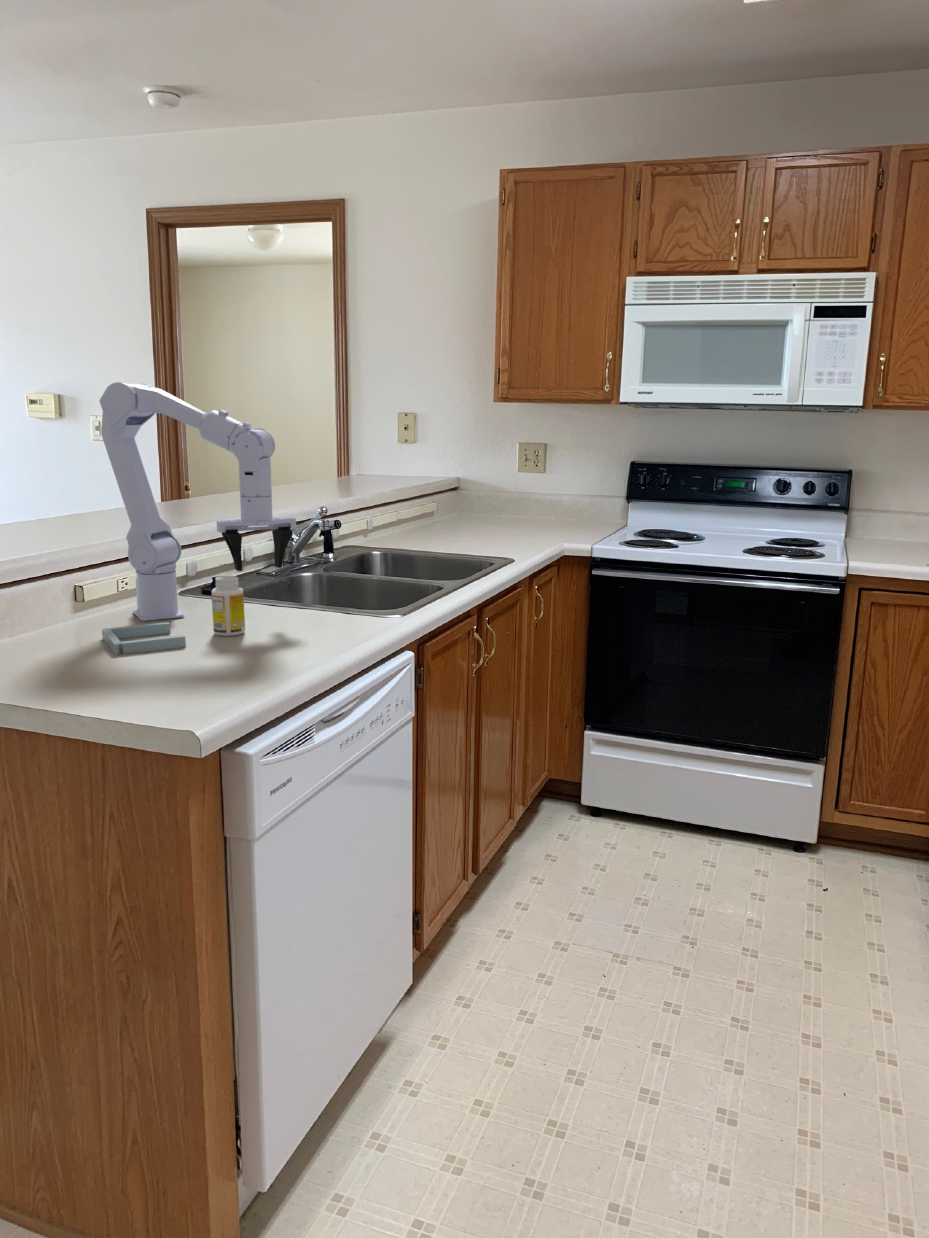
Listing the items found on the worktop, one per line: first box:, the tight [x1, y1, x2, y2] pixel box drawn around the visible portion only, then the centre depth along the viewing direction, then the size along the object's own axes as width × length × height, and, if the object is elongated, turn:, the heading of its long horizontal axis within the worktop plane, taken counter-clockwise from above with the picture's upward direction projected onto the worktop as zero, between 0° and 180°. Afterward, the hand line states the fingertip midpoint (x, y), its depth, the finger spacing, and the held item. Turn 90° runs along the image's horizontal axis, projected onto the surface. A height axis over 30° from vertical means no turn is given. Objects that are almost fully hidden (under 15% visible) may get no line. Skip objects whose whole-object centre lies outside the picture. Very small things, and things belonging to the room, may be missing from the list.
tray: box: [101, 621, 187, 656], centre depth 158 cm, size 12×11×2 cm
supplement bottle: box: [211, 575, 246, 637], centre depth 164 cm, size 6×6×10 cm
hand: (258, 568), depth 172 cm, fingers open, 7 cm apart
